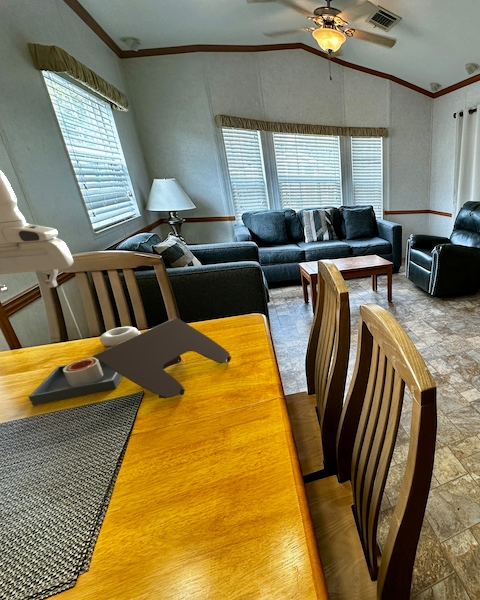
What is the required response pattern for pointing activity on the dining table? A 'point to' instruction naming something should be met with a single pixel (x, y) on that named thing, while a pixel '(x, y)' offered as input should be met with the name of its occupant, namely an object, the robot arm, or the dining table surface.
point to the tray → (60, 389)
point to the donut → (118, 335)
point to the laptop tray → (160, 356)
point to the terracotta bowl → (81, 365)
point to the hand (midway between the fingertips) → (27, 289)
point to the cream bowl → (84, 374)
